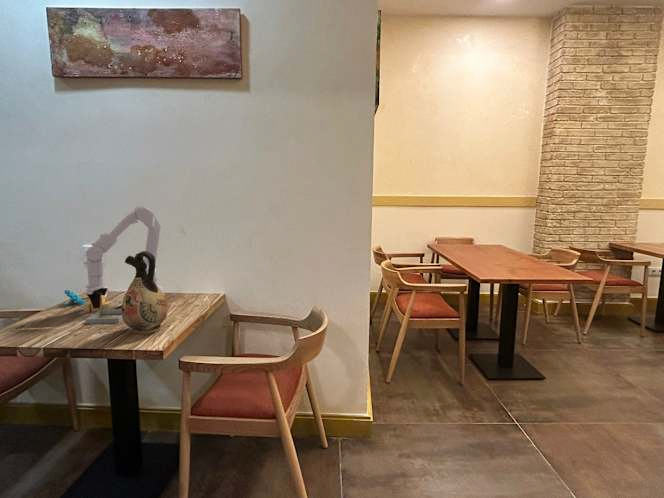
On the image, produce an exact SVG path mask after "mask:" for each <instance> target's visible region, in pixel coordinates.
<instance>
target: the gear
mask: <svg viewBox="0 0 664 498" xmlns="http://www.w3.org/2000/svg"><path fill="white" fill-rule="evenodd" d="M64 294H66V296H67V297H68V298H70V300H69V301H68V302H67V304H65V306H70V305H71V304H72V303H74V302H75V303H77V304H79V305H80V306H84V304H86V301H84V299H83V298H81V297H80V296H79V294H77V293H76V294H75V292H73V291H71V290H69V289H65V290H64Z"/></svg>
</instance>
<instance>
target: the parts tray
mask: <svg viewBox="0 0 664 498" xmlns="http://www.w3.org/2000/svg"><path fill="white" fill-rule="evenodd" d="M121 310H122V308H121V309H114V310H99V311H97V312H96V313H94V314H90V316H89V317H87V318H85V324H86V325H85V326H86V327H87V326H92V325H95V324H114V325H115V326H116V325H117V326H118V325H120V324H119V323H121V322H122V321H124V320H123V318H122V311H121ZM101 315H102V316H103V315H107V316H108V315H119V316H118V317H101ZM87 324H88V325H87ZM91 324H92V325H91Z"/></svg>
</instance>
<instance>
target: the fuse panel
mask: <svg viewBox="0 0 664 498" xmlns="http://www.w3.org/2000/svg"><path fill="white" fill-rule="evenodd" d="M118 307H119V306H117V305H113V301H105V303H104V304H103V310H116V309H117V308H118ZM83 309H84V310H82V311H81V312H79V313H77V315H93V314H94V313H96V312H97V311H91V301H87V302H85V304H83Z"/></svg>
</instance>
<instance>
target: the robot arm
mask: <svg viewBox="0 0 664 498" xmlns="http://www.w3.org/2000/svg"><path fill="white" fill-rule="evenodd" d="M139 221H140V222H141V223H142V224H143V225H145V226H146V228H147V237H146V242H145V244H146V245H145V250H144V251H148V252H149V253H151V254H152V255H153V256H154V257H155V265H156V264H157V263H156V262H157V255H158V248H159V241H160V235H161V234H160V232H161V224H160V222H159V220H158V219H157V216H156V214H155V213H154V211H153V210H151V209H150V208H149V207H147V206H143V205H139V206H137V207H136V208H134V209H133V210H131V211H130V212H129V213H128V214H126V216H125V217H124V218H123V219H122V220H121V221H120V222H119V223H117V225H116V226H115V227H114V228H113V229H112V230H111V231H109V232H105V233H101V234H100V235H99V238H98V239H97V240H96V241H95V242H92V243H91V245H90V247H88V248H87V249H86V252H85V257H86V259H87V261H86V264H87V265H86V267H87V269H86V270H87V280H88V284H87V285H85V288H86V289H85V292H86V293H85V295H86V296H87V298H88V299H89V301H90V302H91V303H92V305H93V308H99V307H100V298H101V295H106V292H107V293H108V290H109V289H108V282H107V281H105V273H104V263H103V260H102V259H103V256H104V255H103V254H106V253H107V252H108V251H109V250H110V249H111V248H112V247H113V246H114V245H115V244H116V243H117V242H118V241H117V239H118V237H119V236H120V235H121V234H122V233H123V232H124V231H125V230H126V229H128V228H129V227H130V226H132V225H134V224H138V223H139ZM143 259H144V261H145V263H146V265H147V269H146V272H147V275H148V268H149V262H148V259H147V258H146V257H143ZM156 270H157V269H156V268H155V272H154V278H153V281H154V283H156V285H157V286H158V287H159V289H160V290H161V291H162V293H163V295H164V294H165V293H164V287H163V286H162V285H158V283H157V281H158V277H157V276H156ZM105 286H107V288H104V287H105ZM164 296H165V295H164Z"/></svg>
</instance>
